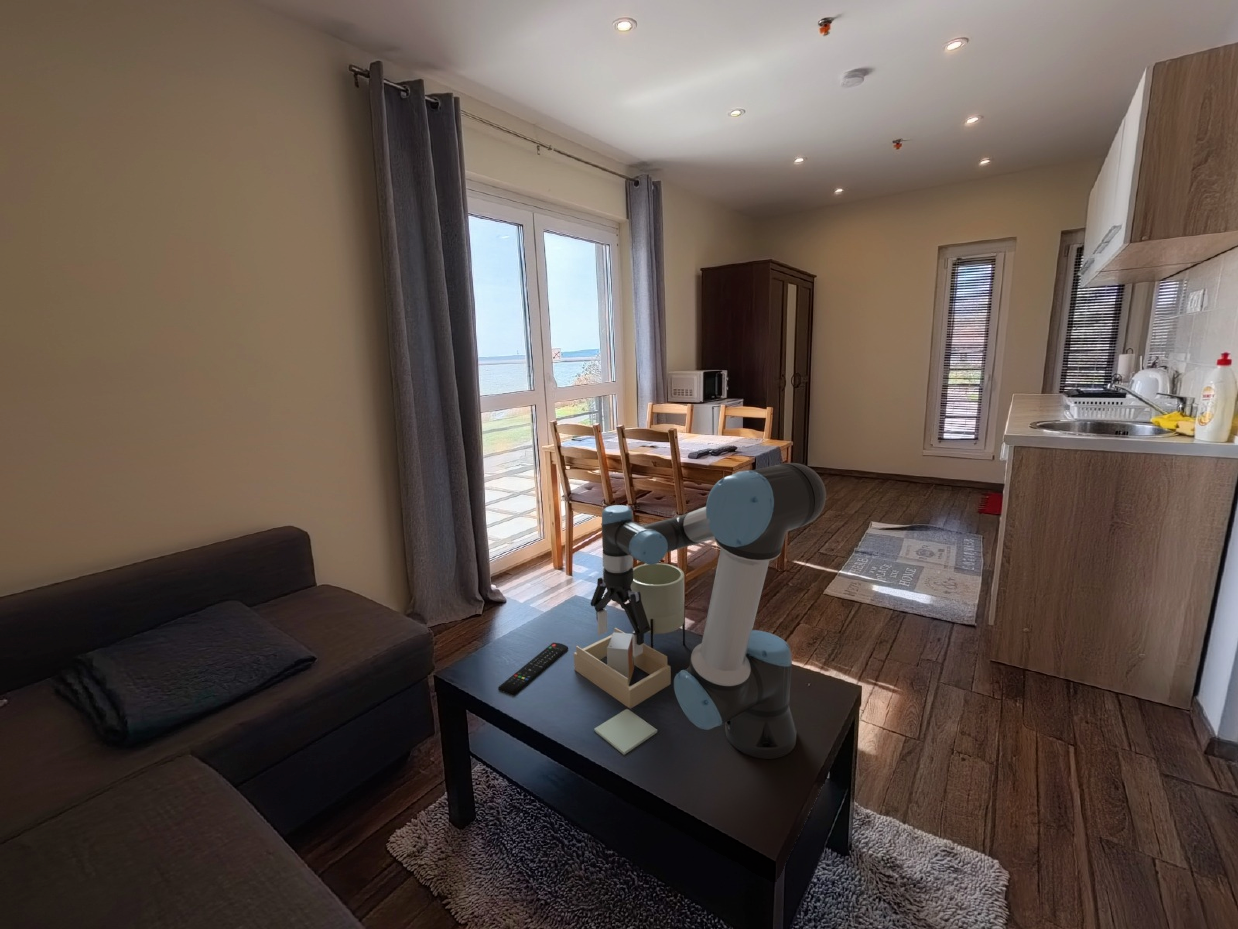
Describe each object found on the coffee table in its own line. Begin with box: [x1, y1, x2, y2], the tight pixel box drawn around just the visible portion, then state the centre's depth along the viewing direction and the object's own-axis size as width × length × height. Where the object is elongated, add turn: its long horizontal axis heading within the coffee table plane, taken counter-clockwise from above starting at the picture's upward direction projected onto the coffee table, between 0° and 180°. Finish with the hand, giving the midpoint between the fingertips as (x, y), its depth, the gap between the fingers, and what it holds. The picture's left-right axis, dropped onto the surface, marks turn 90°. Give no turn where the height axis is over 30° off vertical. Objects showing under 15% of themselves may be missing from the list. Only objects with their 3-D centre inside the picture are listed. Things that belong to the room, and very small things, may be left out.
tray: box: [573, 627, 672, 710], centre depth 141 cm, size 22×14×7 cm, turn 41°
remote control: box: [497, 642, 569, 696], centre depth 147 cm, size 5×24×1 cm, turn 151°
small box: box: [606, 631, 635, 686], centre depth 141 cm, size 8×6×10 cm
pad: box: [593, 708, 658, 756], centre depth 122 cm, size 10×10×1 cm
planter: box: [631, 562, 686, 649], centre depth 152 cm, size 15×16×23 cm
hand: (619, 643), depth 141 cm, fingers open, 13 cm apart
